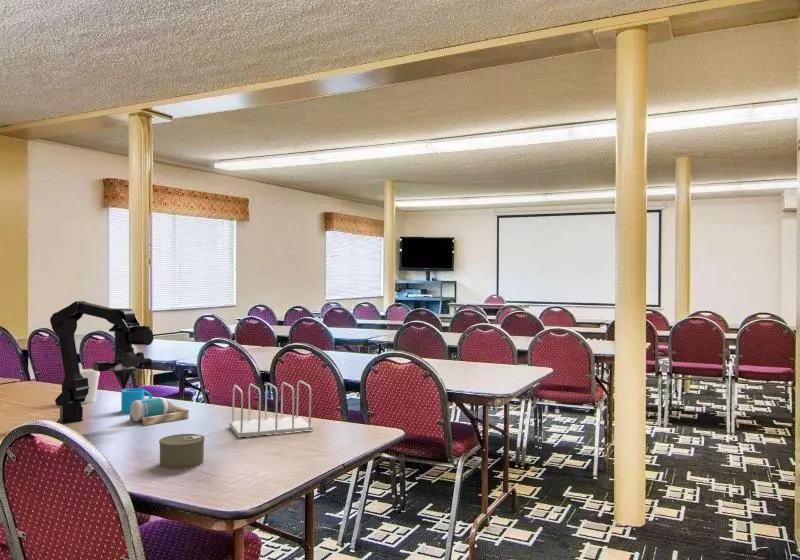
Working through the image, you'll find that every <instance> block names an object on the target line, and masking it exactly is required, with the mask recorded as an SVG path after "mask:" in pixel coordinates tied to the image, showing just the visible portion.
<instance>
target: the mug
mask: <svg viewBox="0 0 800 560" xmlns="http://www.w3.org/2000/svg"><path fill="white" fill-rule="evenodd" d="M145 394H147V395H148V399H151V398H153V395H152V393H151V392H149V391H148V390H146V389H144V388H140V387H137V388H136V387H134V388H125V389H121V401H120V403H121V405H120V406H121V411H120V413H122V414H130V413H131V412H130V409H131V404H132V402H133V401H136V400H143V399H145Z"/></svg>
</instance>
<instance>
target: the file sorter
mask: <svg viewBox="0 0 800 560" xmlns="http://www.w3.org/2000/svg"><path fill="white" fill-rule="evenodd" d="M300 383H301V384H303V385H304V386H306V387H308V391H309V400H308V403H309V405H308V422H307V420H305V419H304V418H302V417H300V415H299V402H300V401H299V398H300V397H299V396H300V395H299V394H300V392H299V391H300ZM284 385H285V386H287V387H289V388H290V389H291V393H292V395H291V396H292V399H291V400H292V403H291V406H292V407H291V409H292V410H291V412H292V413H291V415H292V416H287V417H286V416H285V417H284V415H283V414H284V413H283V412H284V411H283V410H284V409H283V408H284ZM296 385H297V386H296V387H297V388H296V416H295V390H294V386H293V385H291V384H289V383H287V382H285V381H283V382H282V383H281V387H280V388H281V389H280V391H281V392H280V393H281V394H280V395H281V397H280V398H281V399H280V417H278V406H279V404H278V401H279V398H278V397H279V394H278V391H279V390H278V388H277V386H275V385H273V384H272V383H270V382H267V383H266V384H265V390H264V391H265V393H264V395H265V396H264V399H265V400H264V402H265V403H264V418H261V407H262V406H261V403H262V393H261V392H262V391H261V389H260V387H258V386H256V385H255V384H253V383H249V385H248V391H247V392H248V395H247V396H248V419H246V420H245V419H244V418H243V417H244V393H243V392H244V391H243V390H242V389H241V388H240V387H239V386H238V385H237V384H233V386H232V411H231V412H232V413H231V414H232V416H231V421H229V428H230V429H231V430H232V431H233V433H234V434H235V435H236V437H237V436H238V437H237V438H238V439H242V438H241V437H246V438H250V437H249V436H257V437H259V436H258V435H267V434H275V433H285V432H295V431H305V430H313V431H314V426H312V424H311V421H312V419H311V418H312V387H311V385H310V384H308V383H307V382H305V381H303V380H298V381H297V384H296ZM268 386H269V387H271V388H272V389H274V390H275V417H269V418H267V413H268V403H267V402H268ZM251 387H253V388H254V389H256V390H257V391H258V419H255V418H254V419H251ZM236 389H237V390H238V391H239V392H240V420H235V398H236V397H235V394H236V393H235V391H236ZM243 419H244V420H243Z"/></svg>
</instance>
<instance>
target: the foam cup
mask: <svg viewBox="0 0 800 560" xmlns="http://www.w3.org/2000/svg"><path fill="white" fill-rule="evenodd" d="M100 372H101V371H95V370H93V368H83V369H80V374H81V375H82V377H83V378H86V377H87V378H88V385H89V387H90V388H89V392H88V394H87V396H86V398H85V401H84V402H80V403H81V404H91V403H95V402H96V400H97V393H98V387H99V381H100V380H99V379H100V376H101V373H100Z"/></svg>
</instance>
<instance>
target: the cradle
mask: <svg viewBox="0 0 800 560" xmlns="http://www.w3.org/2000/svg"><path fill="white" fill-rule="evenodd" d="M189 411H190V410H189V409H186V408H183V407H179V406H176V405H173V409H172V411H171V412H169V413H166V414H163V415H157V416H150V417H144V418H143V420H142V421H134V420H133V419H132V416H131V413H129V421H131V422H134V423H137V424H139V425H142V426H150V424H151V425H157V424H162V423H168V422H175V421H180V420H188V419H189V415H190V413H189Z"/></svg>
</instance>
